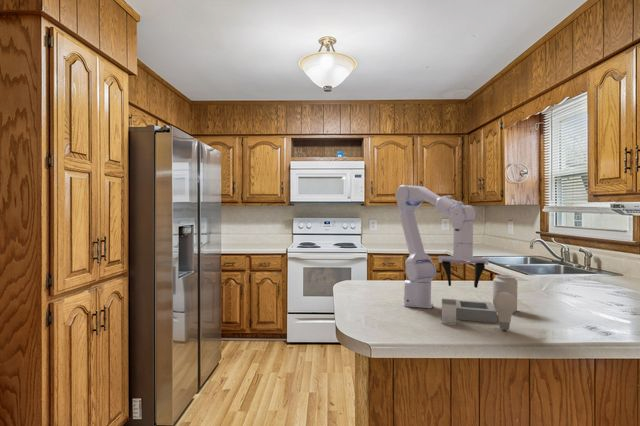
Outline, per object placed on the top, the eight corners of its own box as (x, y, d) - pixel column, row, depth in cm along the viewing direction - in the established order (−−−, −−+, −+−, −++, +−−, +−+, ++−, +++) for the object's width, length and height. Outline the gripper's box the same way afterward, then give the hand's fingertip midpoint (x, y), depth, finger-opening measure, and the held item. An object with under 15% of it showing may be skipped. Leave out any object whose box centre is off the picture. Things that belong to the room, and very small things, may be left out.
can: (520, 314, 122) (520, 278, 122) (496, 312, 123) (496, 277, 123) (513, 308, 129) (513, 274, 129) (490, 306, 131) (490, 273, 131)
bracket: (441, 323, 110) (442, 300, 110) (441, 319, 115) (441, 297, 115) (456, 325, 109) (456, 301, 109) (455, 320, 114) (455, 298, 114)
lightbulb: (515, 335, 100) (516, 295, 100) (491, 331, 104) (491, 292, 104) (517, 329, 105) (517, 291, 105) (494, 325, 109) (494, 288, 109)
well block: (454, 319, 115) (455, 307, 115) (453, 309, 127) (453, 299, 127) (496, 322, 112) (496, 311, 111) (491, 312, 123) (491, 302, 123)
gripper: (439, 243, 114) (438, 287, 114) (490, 245, 109) (489, 290, 109) (438, 241, 120) (438, 282, 120) (486, 243, 116) (486, 285, 116)
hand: (462, 286), depth 115 cm, fingers open, 7 cm apart
